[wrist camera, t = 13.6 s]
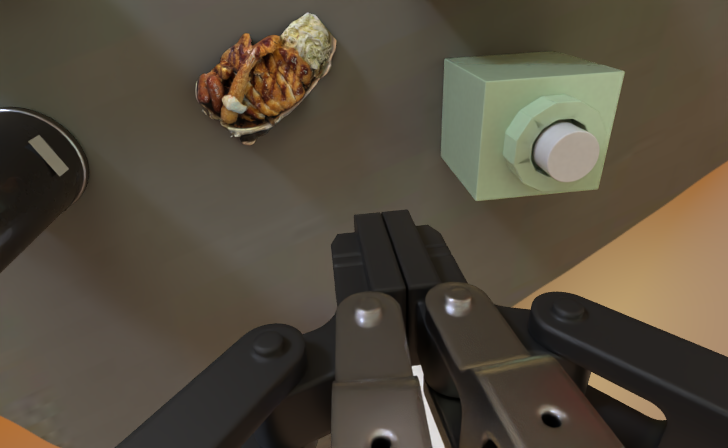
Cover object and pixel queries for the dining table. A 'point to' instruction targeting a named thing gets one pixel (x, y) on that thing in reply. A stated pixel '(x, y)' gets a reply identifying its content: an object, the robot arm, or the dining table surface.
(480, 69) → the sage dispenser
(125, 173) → the dining table surface
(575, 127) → the round grey push button
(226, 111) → the barbecue chicken platter
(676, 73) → the dining table surface
